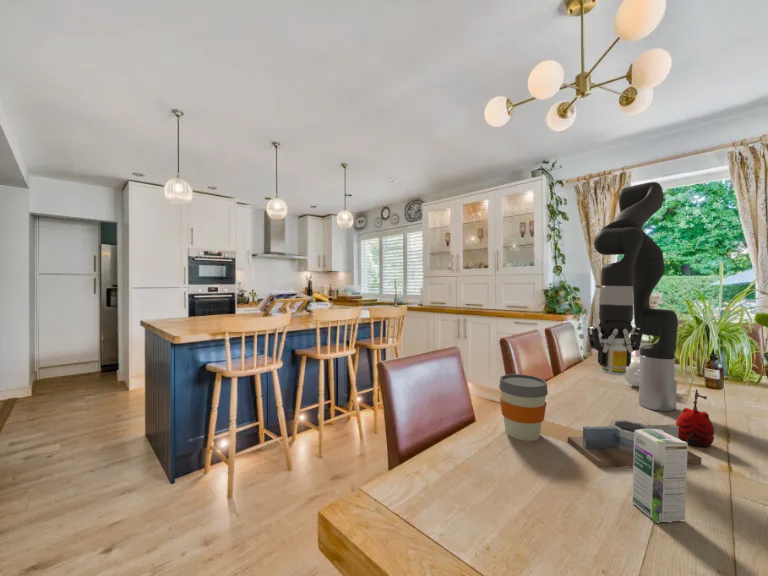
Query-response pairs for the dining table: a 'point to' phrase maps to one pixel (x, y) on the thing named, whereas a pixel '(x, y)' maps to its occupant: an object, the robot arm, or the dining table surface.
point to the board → (614, 455)
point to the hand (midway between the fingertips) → (614, 365)
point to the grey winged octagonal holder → (619, 435)
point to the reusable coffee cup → (523, 405)
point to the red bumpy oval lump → (695, 426)
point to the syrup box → (659, 475)
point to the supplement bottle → (616, 358)
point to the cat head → (633, 371)
